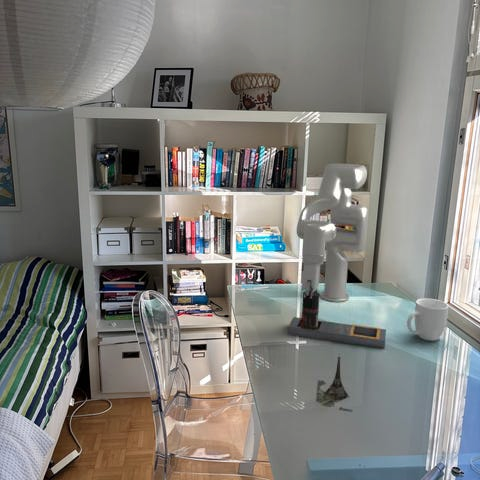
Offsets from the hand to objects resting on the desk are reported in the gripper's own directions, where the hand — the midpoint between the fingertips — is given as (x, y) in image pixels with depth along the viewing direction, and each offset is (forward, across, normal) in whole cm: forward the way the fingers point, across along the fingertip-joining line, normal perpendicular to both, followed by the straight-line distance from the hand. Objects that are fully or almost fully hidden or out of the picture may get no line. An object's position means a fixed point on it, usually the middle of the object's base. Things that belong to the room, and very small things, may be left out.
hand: (310, 304), depth 176 cm
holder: (+11, -1, +10) cm, 15 cm away
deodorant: (+11, -1, 0) cm, 11 cm away
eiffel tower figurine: (+13, +40, +15) cm, 45 cm away
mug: (+11, -11, +41) cm, 44 cm away
